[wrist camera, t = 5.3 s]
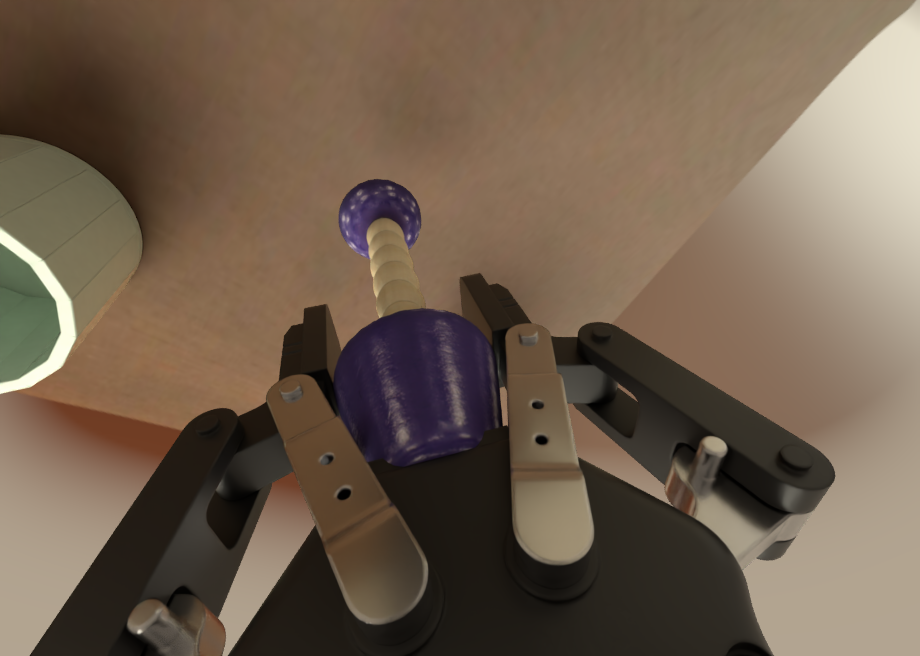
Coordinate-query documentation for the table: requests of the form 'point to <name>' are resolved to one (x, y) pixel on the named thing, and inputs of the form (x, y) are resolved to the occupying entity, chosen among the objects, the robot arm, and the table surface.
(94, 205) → the glazed cup
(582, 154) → the table surface
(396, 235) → the toy lamp
